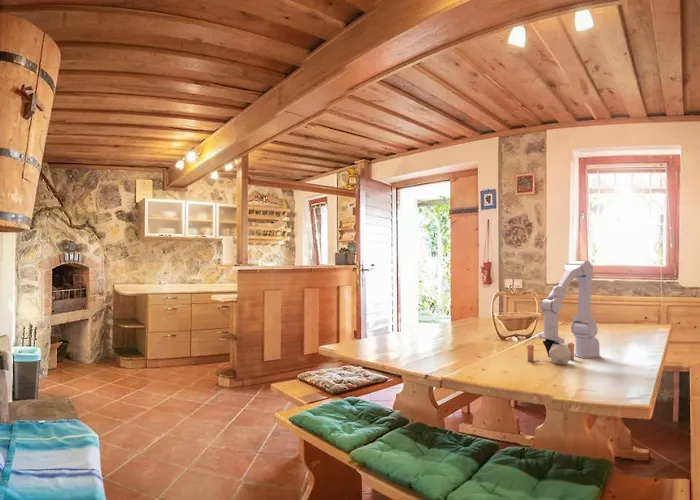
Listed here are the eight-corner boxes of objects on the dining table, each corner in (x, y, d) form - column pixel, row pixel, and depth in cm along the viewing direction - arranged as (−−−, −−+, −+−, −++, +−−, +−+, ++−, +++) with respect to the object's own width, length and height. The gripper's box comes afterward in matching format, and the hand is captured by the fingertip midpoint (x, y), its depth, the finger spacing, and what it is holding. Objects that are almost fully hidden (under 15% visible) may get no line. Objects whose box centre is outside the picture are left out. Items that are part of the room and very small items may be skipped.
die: (572, 364, 182) (558, 343, 188) (579, 357, 175) (564, 336, 180) (554, 371, 182) (541, 350, 187) (561, 365, 174) (547, 343, 179)
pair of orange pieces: (571, 358, 190) (571, 341, 190) (576, 360, 187) (575, 342, 188) (525, 360, 186) (525, 343, 186) (529, 362, 183) (529, 344, 183)
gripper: (532, 324, 193) (533, 354, 193) (553, 329, 179) (554, 361, 178) (546, 323, 195) (547, 353, 194) (568, 328, 180) (569, 360, 180)
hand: (551, 357), depth 186 cm, fingers closed
